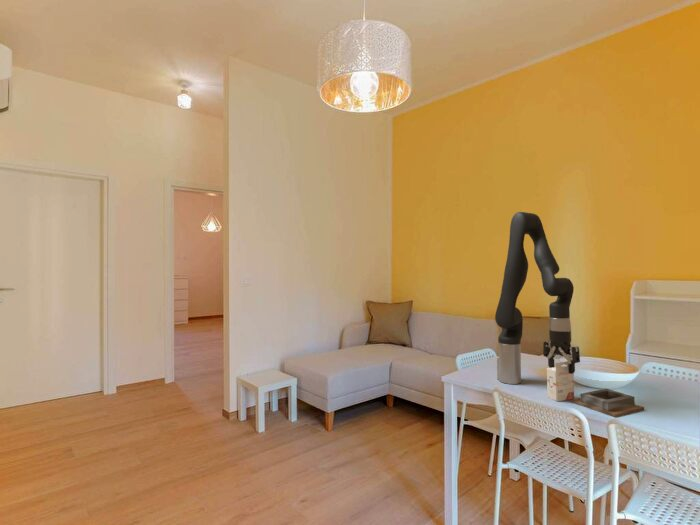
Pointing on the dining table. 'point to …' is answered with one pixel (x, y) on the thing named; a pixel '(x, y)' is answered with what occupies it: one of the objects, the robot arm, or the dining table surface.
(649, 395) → the dining table surface
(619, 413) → the socket plate
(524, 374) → the dining table surface
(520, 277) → the robot arm
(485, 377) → the dining table surface
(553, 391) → the ink cartridge box
